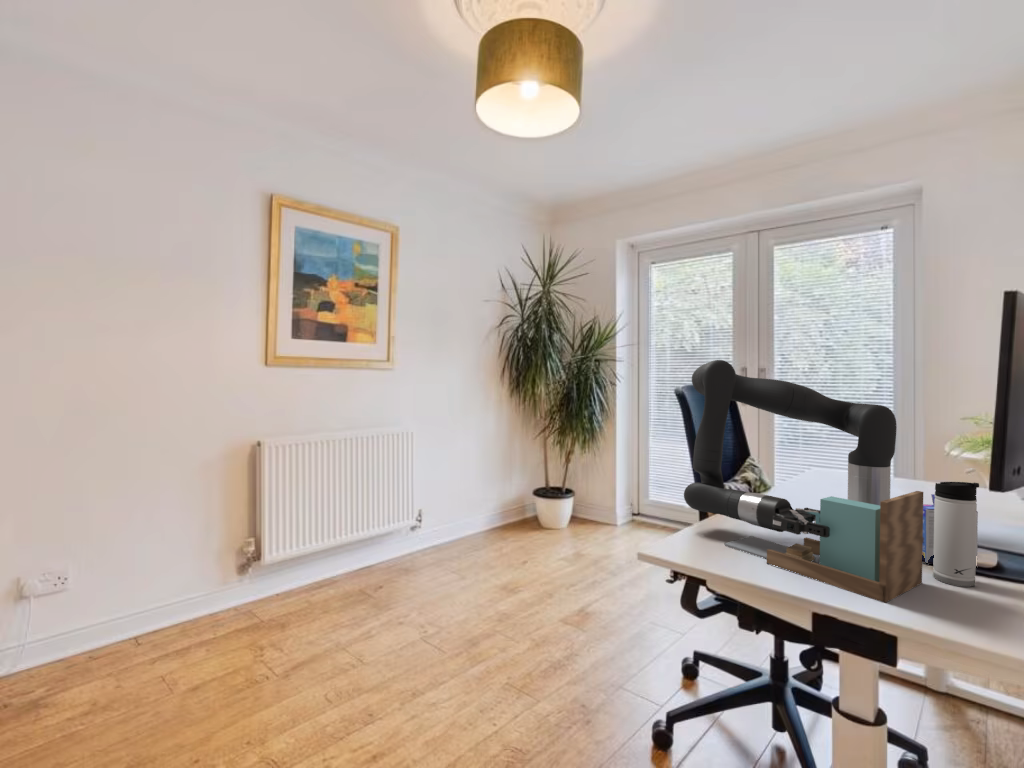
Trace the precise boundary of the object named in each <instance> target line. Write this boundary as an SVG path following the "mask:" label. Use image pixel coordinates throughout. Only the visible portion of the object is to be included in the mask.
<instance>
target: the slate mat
mask: <svg viewBox="0 0 1024 768" xmlns="http://www.w3.org/2000/svg"><path fill="white" fill-rule="evenodd" d="M724 545H725V546H724V547H727V546H728V547H727V548H730V547H731V549H733V548H734V550H736V549H737V551H740V550H741V551H740V552H743V551H744V553H746V552H747V553H746V554H749V553H750V554H749V555H752V554H754V555H753V556H755V555H757V556H756V557H758V556H760V557H759V558H761V557H763V558H762V559H764V558H766V559H765V560H767V550H768V549H771V550H775V551H778V552H781V553H784V554H785V553H786V552H787V547H789V546H787V545H784V544H782V543H781V544H780V543H777V542H774V541H770V540H767V539H763V538H761V537H758V536H753V535H750V536H746V537H743V538H740V539H739V538H738V539H736V540H735V539H734V540H732V541H729V542H725V543H724Z"/></svg>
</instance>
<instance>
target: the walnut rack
mask: <svg viewBox="0 0 1024 768" xmlns="http://www.w3.org/2000/svg"><path fill="white" fill-rule="evenodd" d="M923 504H924V491H921V490H920V491H919V490H915V491H912V492H909V493H905V494H901V495H899V496H895V497H890V499H887V500H884V501H881V503H880V568H879V582H877V581H874V580H870V579H867V578H864V577H860V576H857V575H854V574H850V573H847V572H844V571H841V570H837V569H834V568H831V567H827V566H824V565H821V564H820V563H818V562H814V561H808V560H804V559H801V558H798V557H794V556H791V555H788V554H784V553H781V552H778V551H775V550H771V549H768V550H767V559H766V564H767V563H769V564H772V565H775V566H778V567H781V568H784V569H783V570H785V569H787V570H786V571H788V570H790V571H789V572H791V571H793V572H792V573H794V572H796V573H795V574H797V573H799V574H798V575H800V574H801V575H800V576H803V575H804V577H806V576H807V577H806V578H809V577H810V578H809V579H812V578H813V579H812V580H815V579H817V580H816V581H818V580H819V581H818V582H821V581H822V582H821V583H824V582H825V583H824V584H827V585H831V586H832V587H833V586H834V587H836V588H840V589H843V590H845V591H849V592H851V593H854V594H857V595H861V596H864V597H867V598H870V599H873V600H876V601H879V602H881V603H888V602H890V601H891V600H893V599H896V598H897V597H899V596H901V595H902V594H905V593H907V592H908V591H911V590H912V589H914V588H916V587H918V586H920V585H922V584H923V562H922V548H923ZM803 545H804V546H808V547H812V552H813V555H817V556H820V540H817V539H814V538H811V537H804V538H803ZM769 564H768V565H769ZM772 565H771V566H772ZM775 566H774V567H775ZM778 567H777V568H778ZM781 568H780V569H781Z"/></svg>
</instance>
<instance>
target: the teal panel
mask: <svg viewBox="0 0 1024 768" xmlns="http://www.w3.org/2000/svg"><path fill="white" fill-rule="evenodd" d="M819 506H820V525H824V526H828V527H829V528H830V536H829V537H827V538H825V537H821V536H819V541H820V555H819V564H821V565H824V566H827V567H831V568H834V569H837V570H841V571H844V572H847V573H850V574H854V575H857V576H860V577H864V578H867V579H870V580H874V581H877V582H879V568H880V505H874V504H869V503H864V502H859V501H853V500H848V498H842V497H837V496H828V497H823V498H820V504H819Z"/></svg>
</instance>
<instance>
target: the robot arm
mask: <svg viewBox="0 0 1024 768" xmlns="http://www.w3.org/2000/svg"><path fill="white" fill-rule="evenodd" d="M691 384H692V386H693V388H694V389H695V390H696V392H698V393H699V394H700V395H702V396H704V404H703V405H704V406H703V412H702V417H701V420H700V423H699V426H698V429H697V431H696V432H697V433H696V437H695V440H694V447H693V448H694V449H693V458H692V468H693V470H694V472H696V473H698V474H699V477H700V482H698V481H697V482H693V483H690V484H689V485H687V486H686V487H685V489H684V491H683V499H684V501H685V503H686V504H687V505H688V507H690V508H691V509H693V510H695V511H699V512H703V513H710V514H715V515H721V516H725V517H729V518H730V519H734V520H737V521H741V522H745V523H747V524H749V525H751V526H757V527H759V528H763V529H767V530H770V531H771V530H772V531H774V532H778V533H783V532H788V533H791V534H794V535H801V533H802V534H804V535H808V534H811V535H814V536H818V537H820V536H821V537H825V538H827V537H829V536H830V528H829V527H828V526H824V525H820V510H818V509H813V508H809V507H803V508H800V507H799V508H795V509H794V508H793V507H792V504H791V503H790V501H789V500H788V499H786V498H782V497H777V496H773V495H769V494H768V495H767V494H763V493H759V492H748V491H744V490H739V489H733V488H725V484H724V478H723V472H722V463H723V462H722V461H723V452H724V451H723V449H724V441H725V440H724V438H725V433H726V432H725V430H726V425H727V419H728V414H729V409H730V404H731V401H733V402H738V403H742V404H745V405H747V406H750V407H753V408H756V409H759V410H762V411H765V412H769V413H772V414H775V415H779V416H782V417H786V418H790V419H792V420H798V421H804V422H810V423H817V424H822V425H826V426H828V427H830V428H833V429H834V428H835V429H836V430H839V431H842V432H844V433H847V434H849V435H851V436H854V437H858V439H857V446H856V448H855V449H854V450H851V451H850V452H849V453H848V457H847V462H848V463H847V499H848V500H853V501H859V502H864V503H869V504H874V505H880V503H881V501H884V500H887V499H891V467H892V465H891V463H892V460H893V458H894V456H895V453H896V452H895V451H896V443H897V430H898V429H897V427H898V426H897V419H896V416H895V413H894V411H893V410H891V409H890V408H889V407H887V406H885V405H881V404H875V403H874V404H873V403H863V402H862V403H860V402H858V403H857V402H850V401H845V400H840V399H834V398H831V397H829V396H826V395H824V394H822V393H820V392H819V391H816V390H815V389H813V388H811V387H807V386H804V385H801V384H798V383H794V382H790V381H786V380H783V379H782V380H780V379H772V378H763V377H762V378H759V377H750V376H749V377H748V376H744V375H740V374H738V373H737V374H736V370H735V368H734V366H732V364H731V363H730V362H729V361H726V360H722V359H716V360H711V361H709V362H707V363H704V364H701V365H700V366H699V367H698V368H696V369H695V370H694V372H693V373H692V376H691Z"/></svg>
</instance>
